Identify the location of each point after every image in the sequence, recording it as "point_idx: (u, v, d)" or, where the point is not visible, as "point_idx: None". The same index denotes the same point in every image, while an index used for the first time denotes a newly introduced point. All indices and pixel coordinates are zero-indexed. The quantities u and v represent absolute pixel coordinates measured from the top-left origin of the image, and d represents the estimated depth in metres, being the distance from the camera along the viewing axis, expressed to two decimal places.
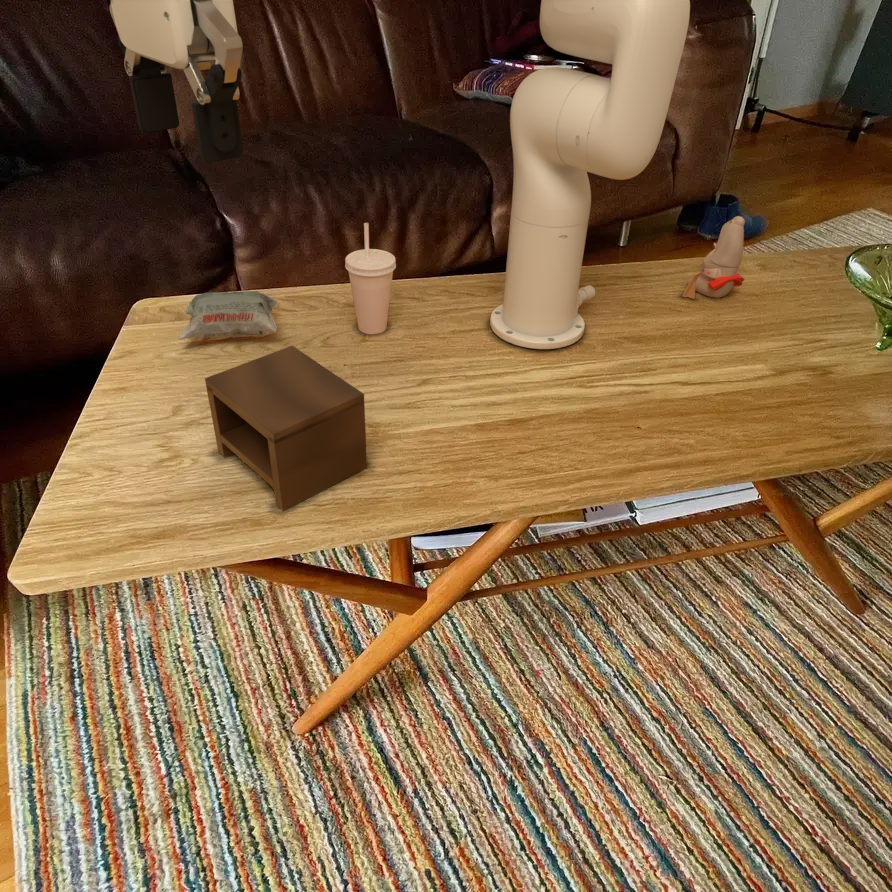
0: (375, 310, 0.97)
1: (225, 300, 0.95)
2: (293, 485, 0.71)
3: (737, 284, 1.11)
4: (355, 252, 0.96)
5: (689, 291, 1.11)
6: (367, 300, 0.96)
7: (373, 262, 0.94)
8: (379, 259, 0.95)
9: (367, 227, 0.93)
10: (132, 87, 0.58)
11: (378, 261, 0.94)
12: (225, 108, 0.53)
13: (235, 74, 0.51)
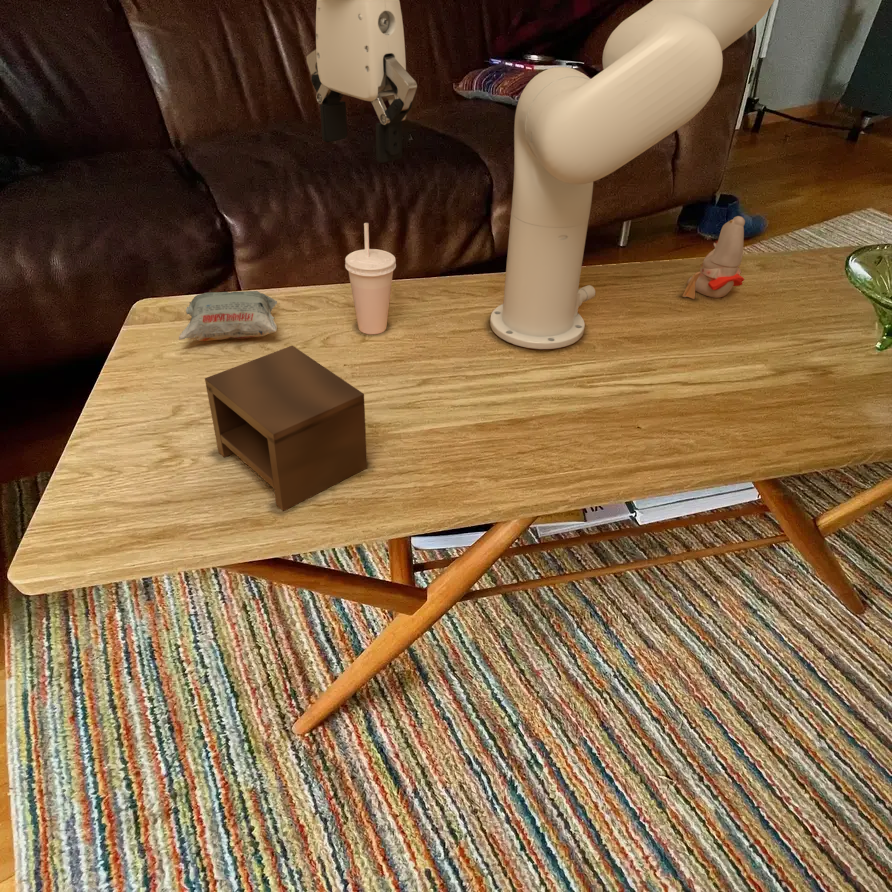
0: (375, 310, 0.97)
1: (225, 301, 0.95)
2: (293, 485, 0.71)
3: (737, 284, 1.11)
4: (355, 252, 0.96)
5: (689, 291, 1.11)
6: (367, 300, 0.96)
7: (373, 262, 0.94)
8: (379, 259, 0.95)
9: (367, 227, 0.93)
10: (322, 111, 0.86)
11: (378, 261, 0.94)
12: (396, 126, 0.80)
13: (408, 105, 0.78)
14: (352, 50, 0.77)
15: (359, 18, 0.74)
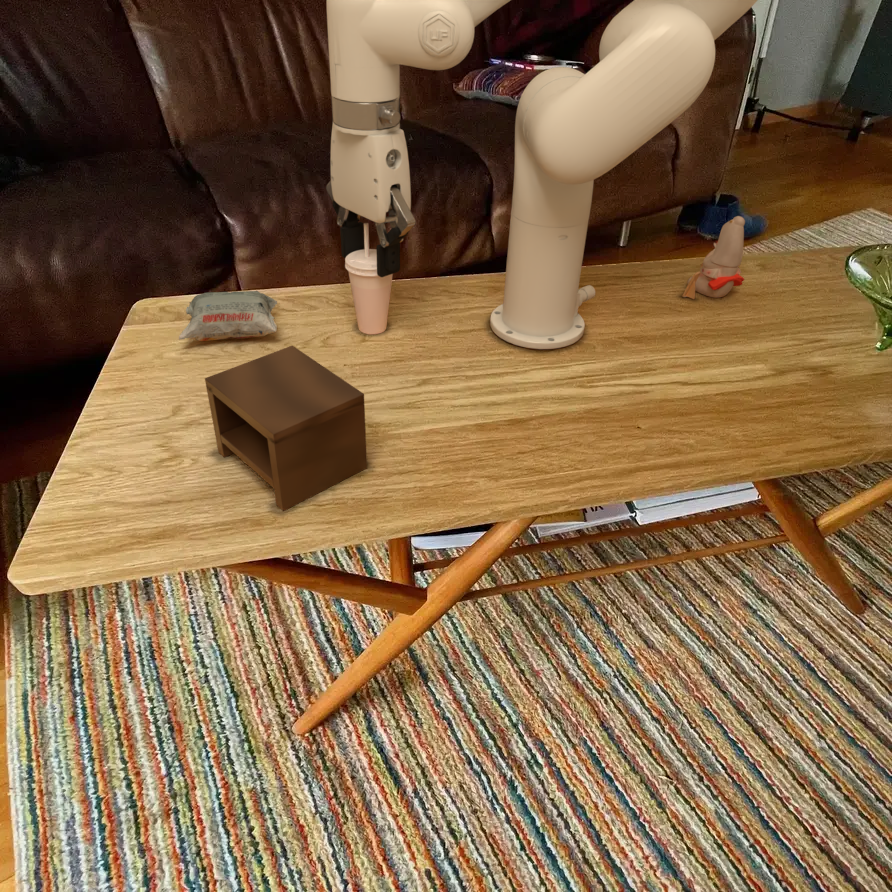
0: (375, 310, 0.97)
1: (225, 300, 0.95)
2: (293, 485, 0.71)
3: (737, 284, 1.11)
4: (355, 252, 0.96)
5: (689, 291, 1.11)
6: (367, 300, 0.96)
7: (373, 262, 0.94)
8: None
9: (367, 227, 0.93)
10: (341, 233, 0.95)
11: None
12: (395, 247, 0.91)
13: (405, 232, 0.89)
14: (363, 180, 0.86)
15: (369, 156, 0.84)
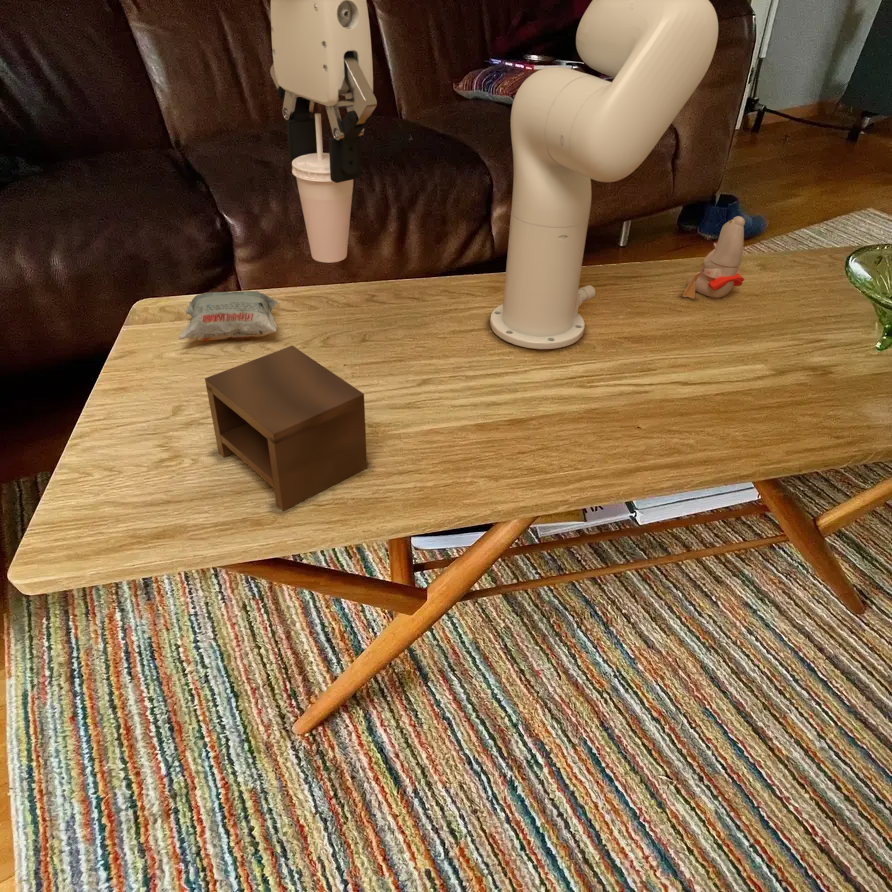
0: (331, 230, 0.76)
1: (225, 300, 0.95)
2: (293, 485, 0.71)
3: (737, 284, 1.11)
4: (306, 155, 0.76)
5: (689, 291, 1.11)
6: (320, 215, 0.75)
7: (327, 165, 0.74)
8: None
9: (318, 118, 0.72)
10: (288, 128, 0.74)
11: None
12: (353, 142, 0.70)
13: (364, 119, 0.68)
14: (308, 46, 0.66)
15: (315, 8, 0.63)
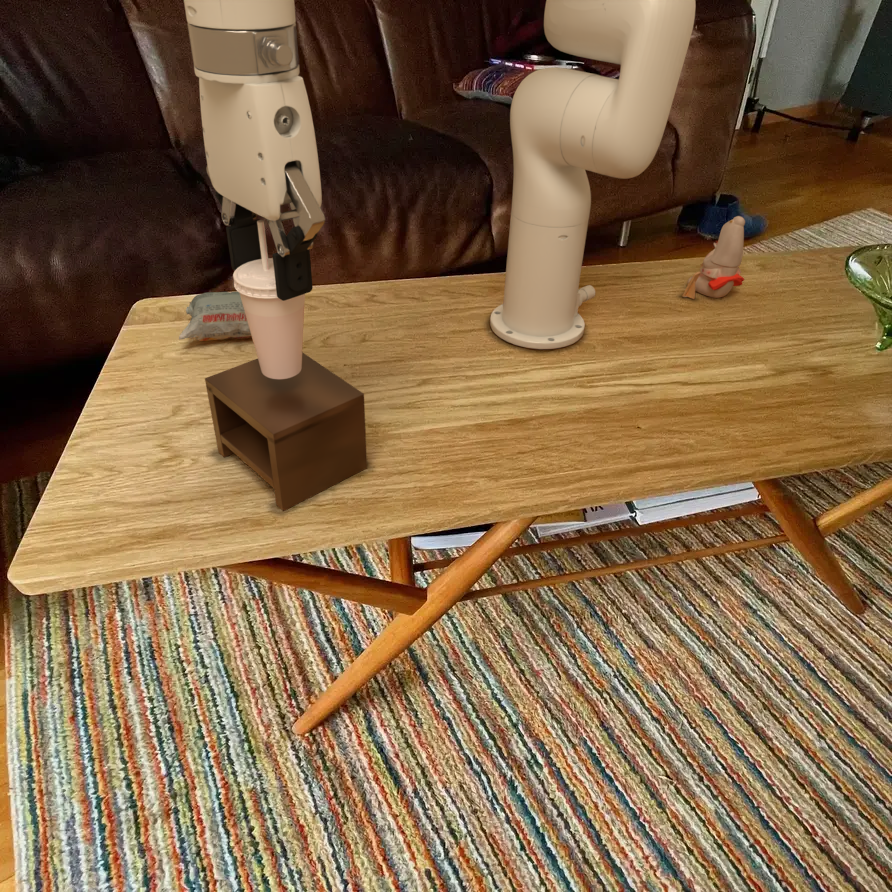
0: (281, 346, 0.67)
1: (225, 300, 0.95)
2: (293, 485, 0.71)
3: (737, 284, 1.11)
4: (251, 263, 0.67)
5: (689, 291, 1.11)
6: (268, 332, 0.66)
7: (273, 278, 0.64)
8: None
9: (261, 227, 0.63)
10: (228, 235, 0.65)
11: None
12: (301, 256, 0.61)
13: (312, 235, 0.59)
14: (243, 156, 0.56)
15: (248, 116, 0.54)
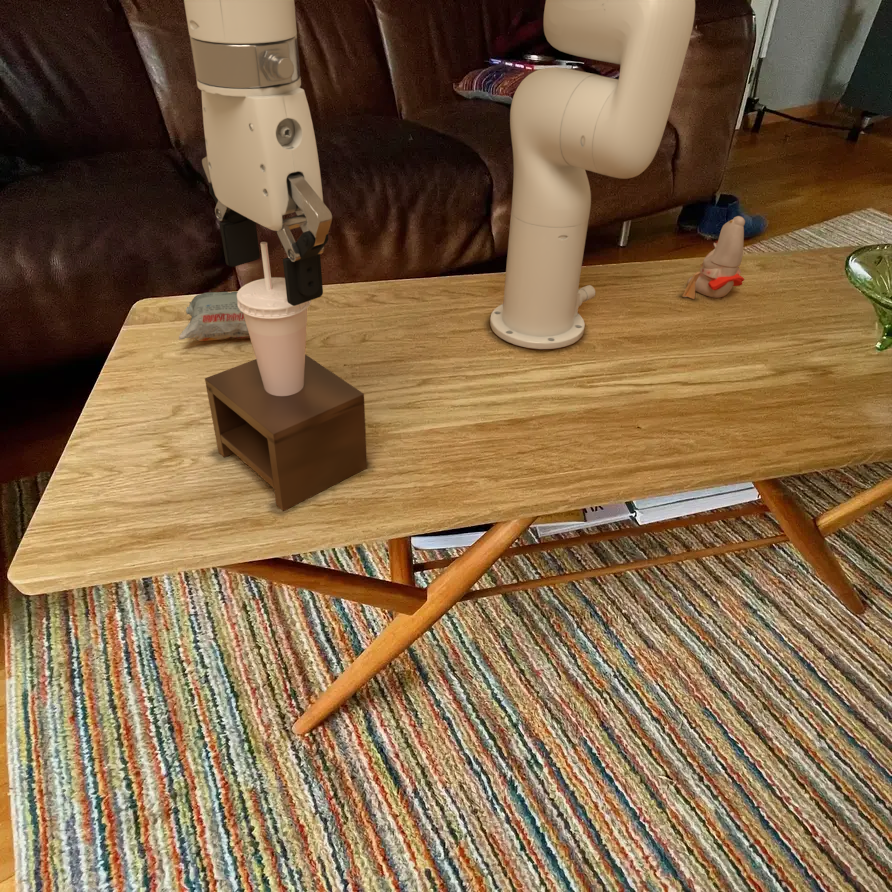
0: (283, 364, 0.68)
1: (225, 300, 0.95)
2: (293, 485, 0.71)
3: (737, 284, 1.11)
4: (254, 282, 0.68)
5: (689, 291, 1.11)
6: (271, 350, 0.67)
7: (276, 298, 0.65)
8: (285, 293, 0.66)
9: (265, 248, 0.64)
10: (222, 231, 0.66)
11: (283, 296, 0.66)
12: (311, 261, 0.61)
13: (323, 238, 0.58)
14: (246, 167, 0.57)
15: (250, 129, 0.55)
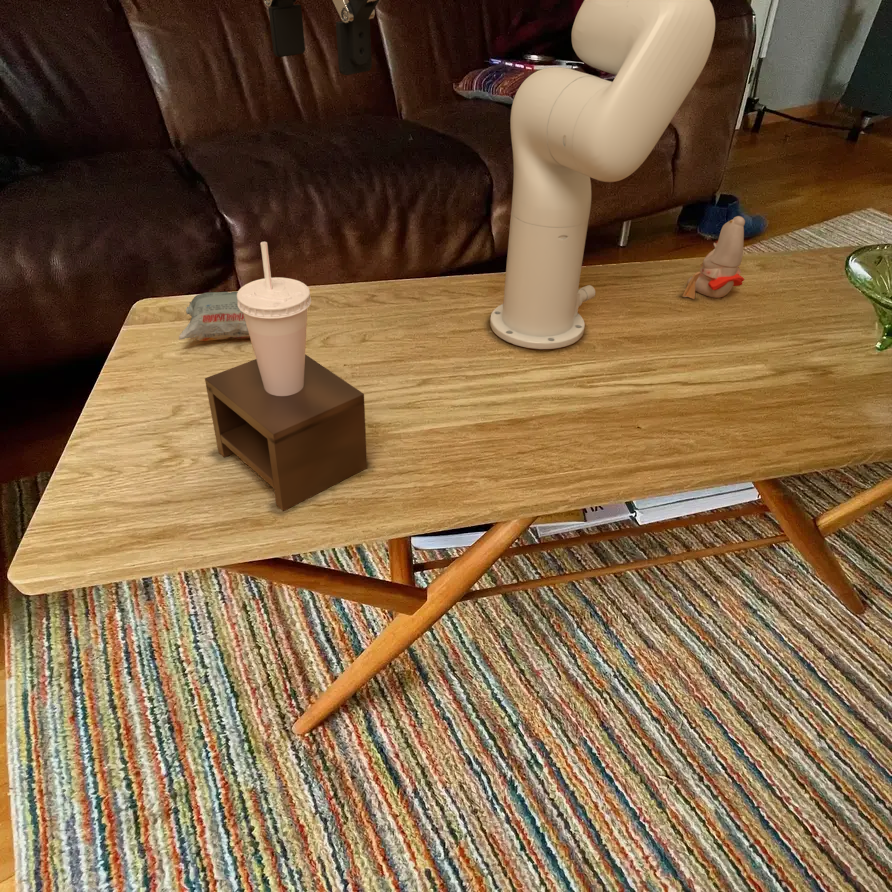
0: (283, 364, 0.68)
1: (225, 300, 0.95)
2: (293, 485, 0.71)
3: (737, 284, 1.11)
4: (254, 282, 0.68)
5: (689, 291, 1.11)
6: (271, 350, 0.67)
7: (276, 298, 0.65)
8: (285, 293, 0.66)
9: (265, 248, 0.64)
10: (271, 16, 0.68)
11: (283, 296, 0.66)
12: (363, 26, 0.63)
13: None
14: None
15: None
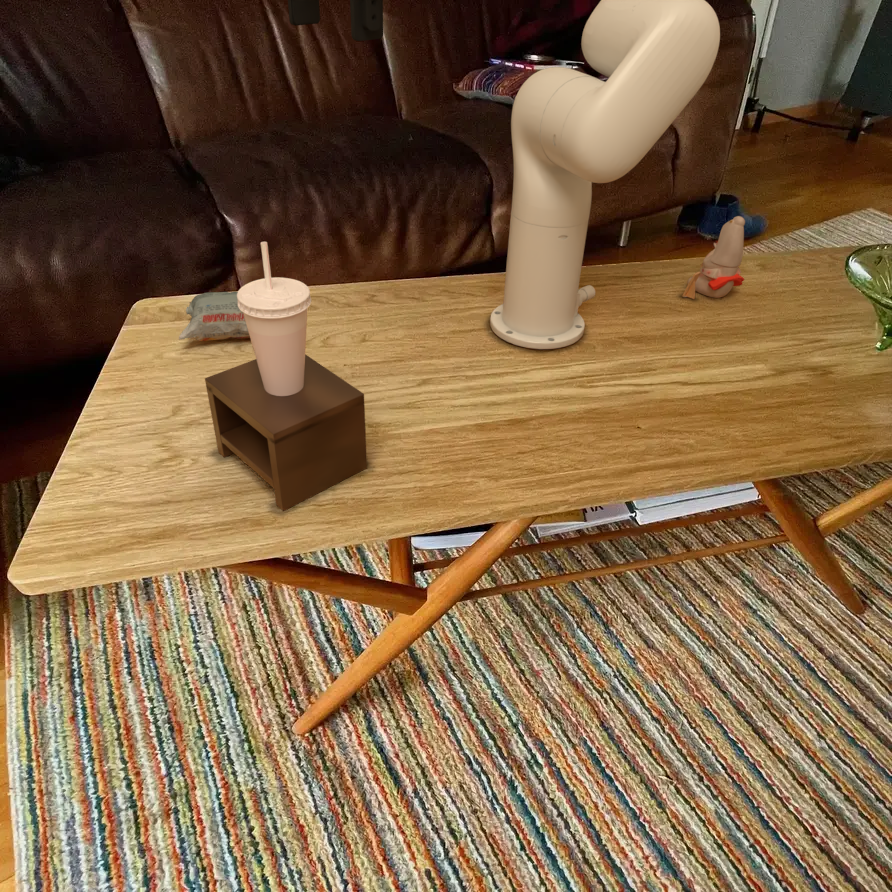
0: (284, 364, 0.68)
1: (225, 300, 0.95)
2: (293, 485, 0.71)
3: (737, 284, 1.11)
4: (254, 282, 0.68)
5: (689, 291, 1.11)
6: (271, 350, 0.67)
7: (276, 298, 0.65)
8: (285, 293, 0.66)
9: (265, 248, 0.64)
10: None
11: (283, 296, 0.66)
12: None
13: None
14: None
15: None
